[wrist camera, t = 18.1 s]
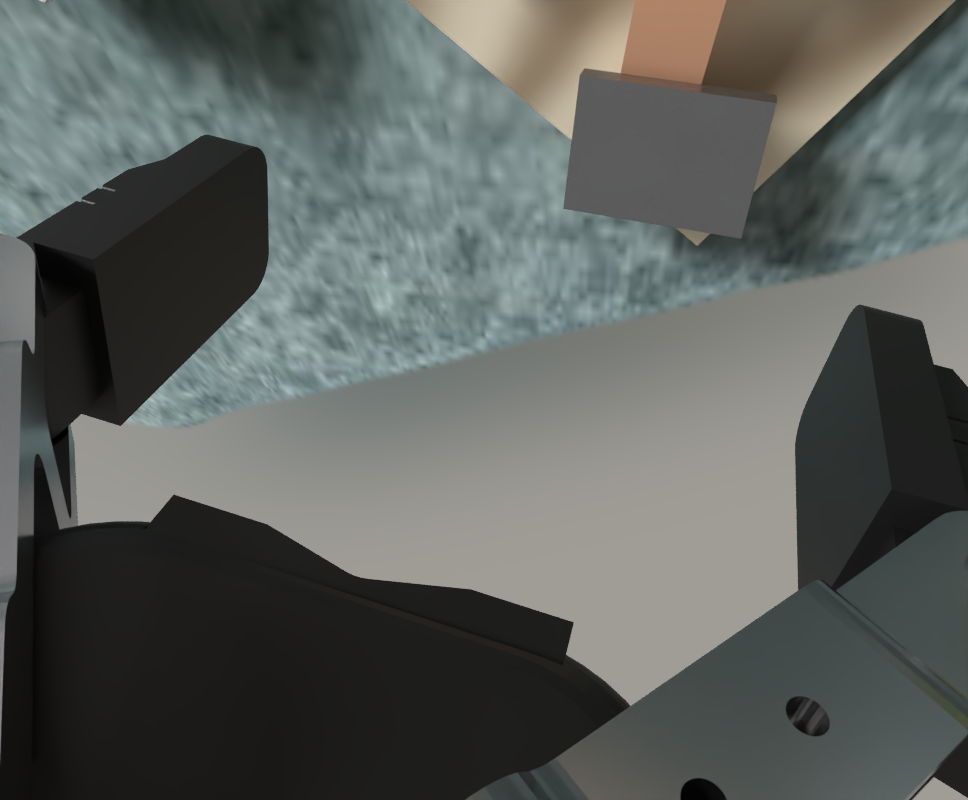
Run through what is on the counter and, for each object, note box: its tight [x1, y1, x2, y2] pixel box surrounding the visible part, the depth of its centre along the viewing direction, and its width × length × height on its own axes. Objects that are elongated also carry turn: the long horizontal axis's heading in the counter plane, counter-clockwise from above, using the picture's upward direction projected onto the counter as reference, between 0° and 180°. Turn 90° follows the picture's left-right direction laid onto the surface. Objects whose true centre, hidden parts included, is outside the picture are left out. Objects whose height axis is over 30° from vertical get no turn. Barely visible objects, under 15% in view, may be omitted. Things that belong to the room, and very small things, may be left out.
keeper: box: [564, 68, 777, 239], centre depth 34 cm, size 5×7×5 cm
